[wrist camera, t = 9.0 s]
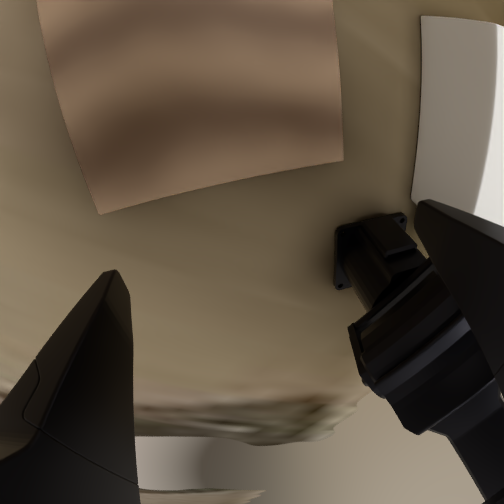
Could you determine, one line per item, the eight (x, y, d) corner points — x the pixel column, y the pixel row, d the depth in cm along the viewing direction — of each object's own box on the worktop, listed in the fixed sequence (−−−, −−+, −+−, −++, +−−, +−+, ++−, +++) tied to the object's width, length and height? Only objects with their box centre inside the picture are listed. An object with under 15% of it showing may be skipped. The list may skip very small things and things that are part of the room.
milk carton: (551, 48, 10) (501, 270, 21) (482, 31, 15) (457, 225, 27) (496, 20, 9) (447, 291, 21) (419, 13, 15) (402, 238, 26)
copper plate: (337, 155, 20) (343, 160, 20) (102, 207, 19) (99, 215, 19) (301, -116, 8) (307, -122, 7) (36, -64, 7) (30, -68, 6)
